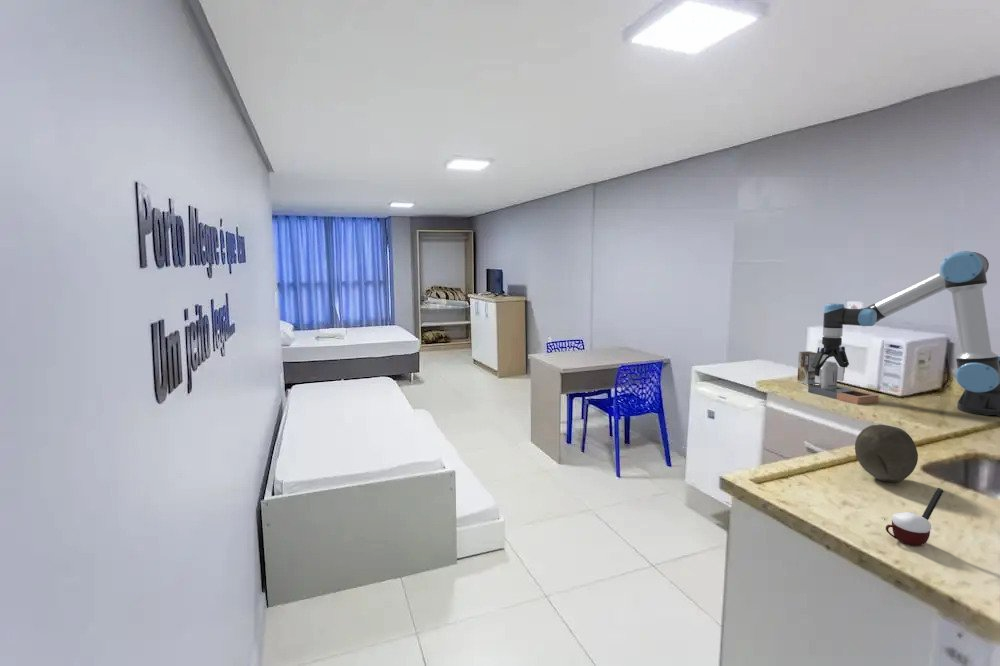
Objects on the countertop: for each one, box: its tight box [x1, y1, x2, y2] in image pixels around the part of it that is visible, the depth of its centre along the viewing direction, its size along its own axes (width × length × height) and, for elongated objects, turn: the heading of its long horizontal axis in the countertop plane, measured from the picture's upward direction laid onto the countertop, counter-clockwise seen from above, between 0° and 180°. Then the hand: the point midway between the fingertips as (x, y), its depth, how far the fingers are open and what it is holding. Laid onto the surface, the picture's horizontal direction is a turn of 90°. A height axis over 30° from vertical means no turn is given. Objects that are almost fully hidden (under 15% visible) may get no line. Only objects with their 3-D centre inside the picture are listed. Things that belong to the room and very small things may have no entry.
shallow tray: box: [807, 384, 880, 405], centre depth 223 cm, size 24×12×3 cm, turn 17°
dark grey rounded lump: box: [854, 424, 919, 483], centre depth 134 cm, size 14×14×15 cm
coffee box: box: [796, 351, 820, 386], centre depth 250 cm, size 9×6×16 cm
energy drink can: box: [820, 360, 839, 390], centre depth 229 cm, size 6×6×15 cm
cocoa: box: [885, 487, 944, 547], centre depth 103 cm, size 10×6×12 cm, turn 56°
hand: (829, 381), depth 229 cm, fingers open, 13 cm apart
